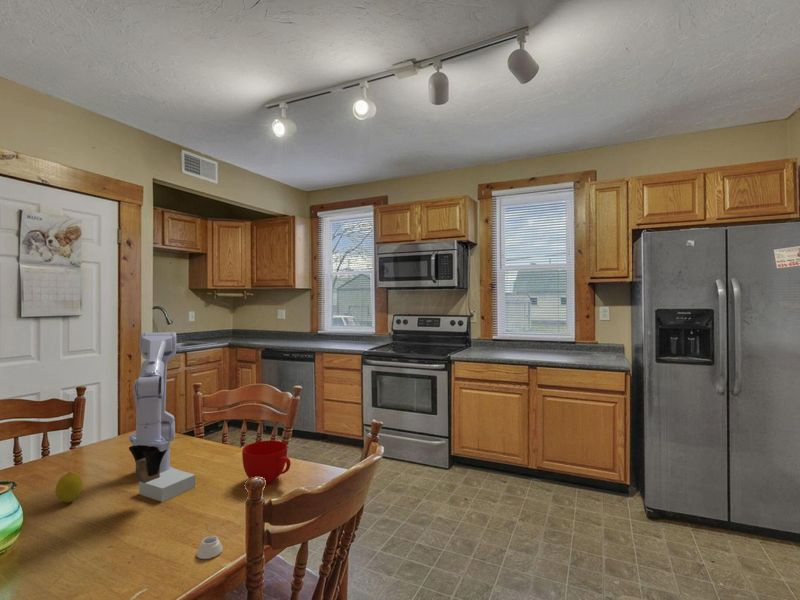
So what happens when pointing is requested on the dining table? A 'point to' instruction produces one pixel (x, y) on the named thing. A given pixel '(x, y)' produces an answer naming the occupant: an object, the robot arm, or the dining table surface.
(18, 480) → the dining table surface
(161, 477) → the base block
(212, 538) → the white tapered collar
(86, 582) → the dining table surface
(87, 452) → the dining table surface
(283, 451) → the ceramic cup
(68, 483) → the lemon
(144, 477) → the walnut block
